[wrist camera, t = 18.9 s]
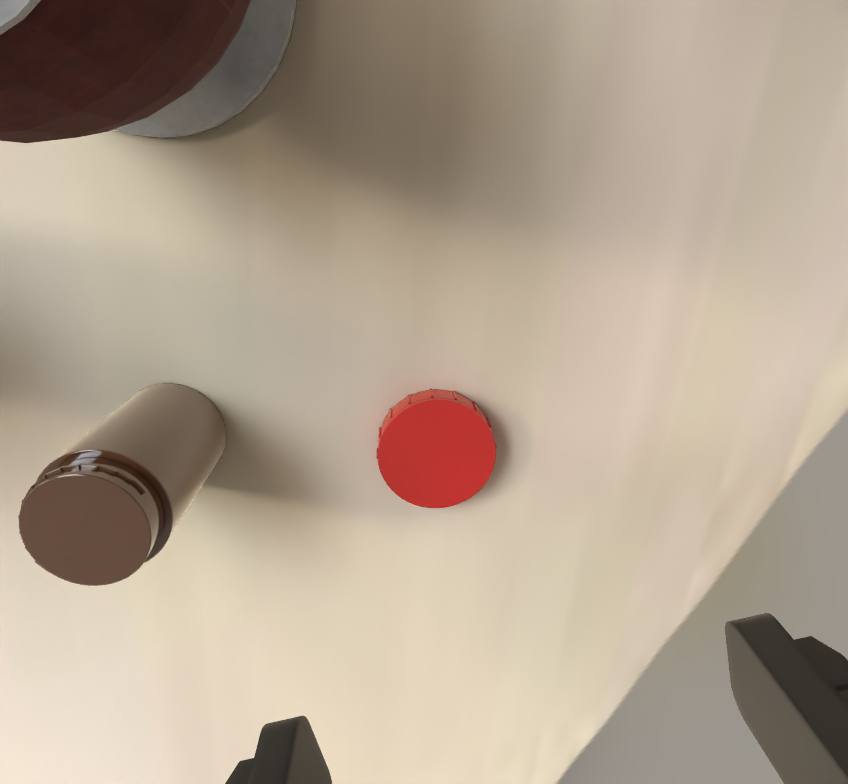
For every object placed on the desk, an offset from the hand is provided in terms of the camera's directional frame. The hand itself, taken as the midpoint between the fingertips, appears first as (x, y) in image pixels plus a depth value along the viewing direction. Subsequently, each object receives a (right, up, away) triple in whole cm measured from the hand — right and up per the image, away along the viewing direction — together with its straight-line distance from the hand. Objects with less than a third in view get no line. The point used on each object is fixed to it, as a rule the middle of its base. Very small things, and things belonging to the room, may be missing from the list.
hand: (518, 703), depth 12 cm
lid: (-1, +3, +19) cm, 19 cm away
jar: (-14, +4, +19) cm, 24 cm away
